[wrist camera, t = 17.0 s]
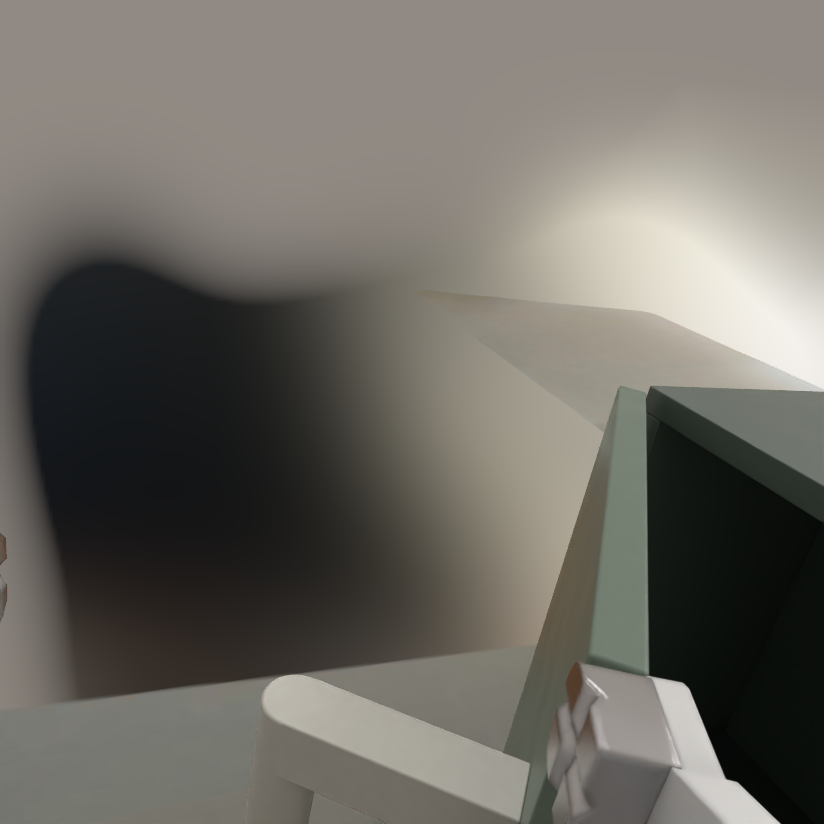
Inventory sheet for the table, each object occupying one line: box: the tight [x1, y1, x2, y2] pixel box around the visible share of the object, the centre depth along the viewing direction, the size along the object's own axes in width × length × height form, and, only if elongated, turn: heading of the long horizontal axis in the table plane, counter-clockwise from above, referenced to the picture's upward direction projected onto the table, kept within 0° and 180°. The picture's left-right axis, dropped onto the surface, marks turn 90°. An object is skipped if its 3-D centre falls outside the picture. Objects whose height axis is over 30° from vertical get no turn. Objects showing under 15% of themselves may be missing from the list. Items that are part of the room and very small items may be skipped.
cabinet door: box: [244, 386, 649, 824], centre depth 23 cm, size 7×16×20 cm, turn 163°
